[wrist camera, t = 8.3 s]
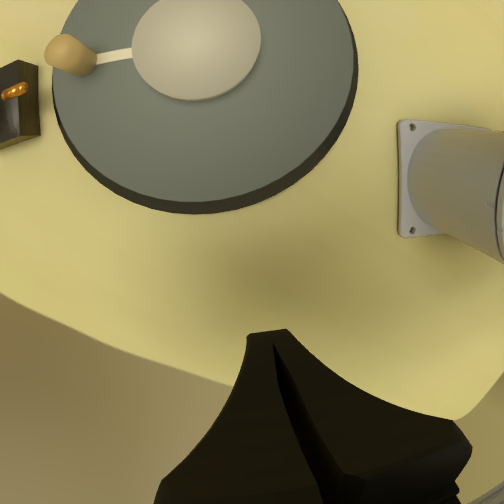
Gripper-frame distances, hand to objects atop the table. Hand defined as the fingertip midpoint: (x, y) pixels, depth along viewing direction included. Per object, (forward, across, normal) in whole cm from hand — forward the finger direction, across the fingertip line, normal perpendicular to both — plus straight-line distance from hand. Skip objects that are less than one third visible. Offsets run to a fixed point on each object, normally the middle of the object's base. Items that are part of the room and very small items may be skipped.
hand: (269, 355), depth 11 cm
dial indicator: (+11, +14, -12) cm, 22 cm away
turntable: (+9, +2, -12) cm, 15 cm away
